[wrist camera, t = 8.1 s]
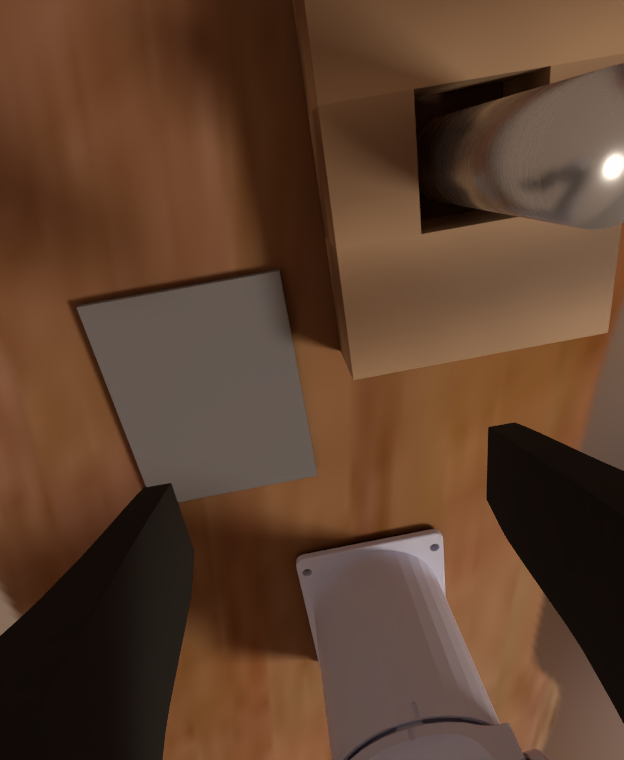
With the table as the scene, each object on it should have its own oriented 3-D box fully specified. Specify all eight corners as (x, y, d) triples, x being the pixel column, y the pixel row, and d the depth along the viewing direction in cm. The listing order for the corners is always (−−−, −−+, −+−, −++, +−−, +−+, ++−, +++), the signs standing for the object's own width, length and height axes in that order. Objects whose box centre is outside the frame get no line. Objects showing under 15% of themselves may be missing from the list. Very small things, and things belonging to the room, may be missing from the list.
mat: (316, 470, 23) (317, 475, 22) (155, 501, 22) (154, 506, 22) (279, 268, 18) (279, 270, 18) (79, 304, 18) (76, 307, 18)
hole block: (561, 310, 20) (607, 332, 18) (340, 351, 20) (353, 380, 17) (596, -115, 14) (673, -180, 12) (283, -65, 14) (288, -120, 11)
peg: (480, 200, 18) (659, 227, 10) (406, 203, 18) (528, 232, 10) (491, 113, 17) (705, 61, 9) (411, 114, 17) (556, 62, 8)
